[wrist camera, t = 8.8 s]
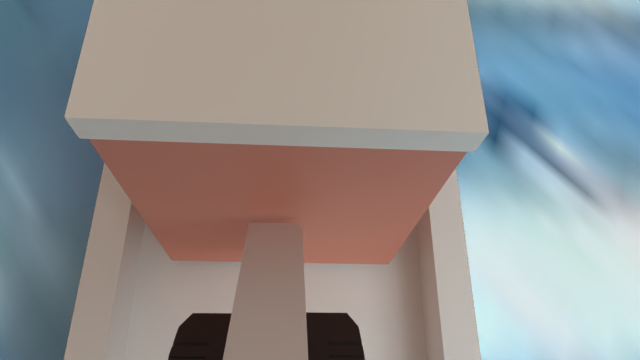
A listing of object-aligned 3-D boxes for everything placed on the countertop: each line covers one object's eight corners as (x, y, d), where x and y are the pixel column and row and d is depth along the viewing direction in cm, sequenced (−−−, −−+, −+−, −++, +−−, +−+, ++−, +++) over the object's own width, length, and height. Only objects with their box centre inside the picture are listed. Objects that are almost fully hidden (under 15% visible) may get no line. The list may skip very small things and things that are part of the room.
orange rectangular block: (391, 267, 19) (489, 132, 10) (168, 263, 18) (64, 117, 9) (383, 145, 21) (457, -52, 12) (184, 138, 21) (112, -73, 12)
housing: (466, 527, 17) (616, 615, 9) (70, 533, 16) (-115, 634, 9) (414, 28, 27) (467, -131, 19) (161, 15, 26) (111, -156, 18)
